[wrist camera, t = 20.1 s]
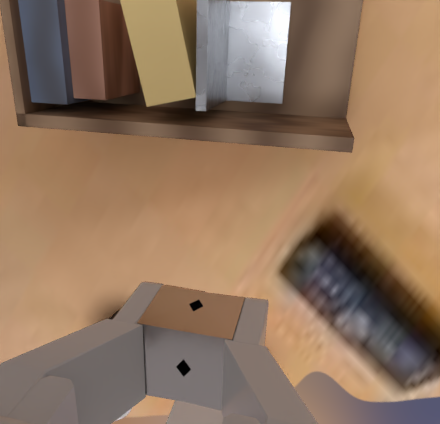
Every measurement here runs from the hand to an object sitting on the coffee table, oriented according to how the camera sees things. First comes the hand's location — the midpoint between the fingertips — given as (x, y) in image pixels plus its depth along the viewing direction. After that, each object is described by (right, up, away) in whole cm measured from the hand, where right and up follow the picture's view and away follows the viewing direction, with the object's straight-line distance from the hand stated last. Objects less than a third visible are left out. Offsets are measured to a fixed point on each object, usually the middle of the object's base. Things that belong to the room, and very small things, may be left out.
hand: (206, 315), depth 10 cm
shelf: (-1, +17, +28) cm, 33 cm away
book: (-2, +17, +27) cm, 32 cm away
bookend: (+3, +16, +26) cm, 31 cm away
